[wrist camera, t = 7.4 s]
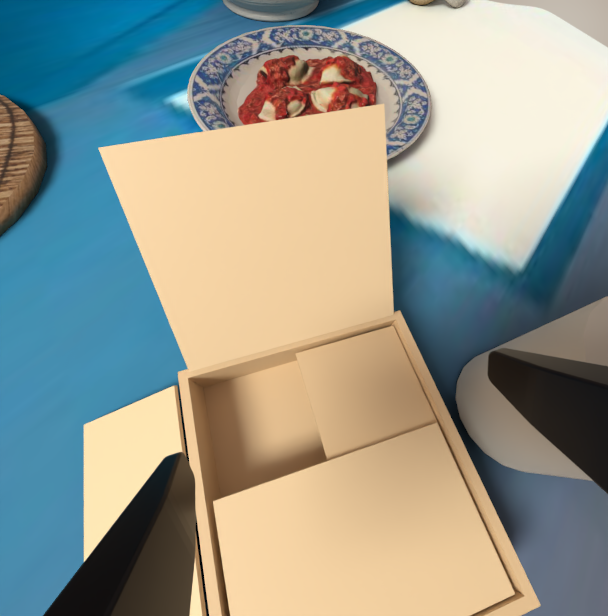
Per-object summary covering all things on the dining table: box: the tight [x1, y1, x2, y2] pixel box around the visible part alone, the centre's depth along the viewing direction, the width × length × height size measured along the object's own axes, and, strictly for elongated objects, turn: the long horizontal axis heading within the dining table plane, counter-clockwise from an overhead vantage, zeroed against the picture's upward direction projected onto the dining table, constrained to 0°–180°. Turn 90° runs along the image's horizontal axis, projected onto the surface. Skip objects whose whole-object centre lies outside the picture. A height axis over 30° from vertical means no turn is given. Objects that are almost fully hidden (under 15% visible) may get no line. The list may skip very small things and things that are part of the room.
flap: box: [98, 104, 394, 372], centre depth 15 cm, size 1×12×11 cm
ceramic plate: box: [187, 25, 431, 160], centre depth 32 cm, size 26×26×3 cm
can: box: [456, 296, 608, 481], centre depth 15 cm, size 8×8×12 cm
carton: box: [84, 310, 541, 616], centre depth 16 cm, size 15×21×4 cm
